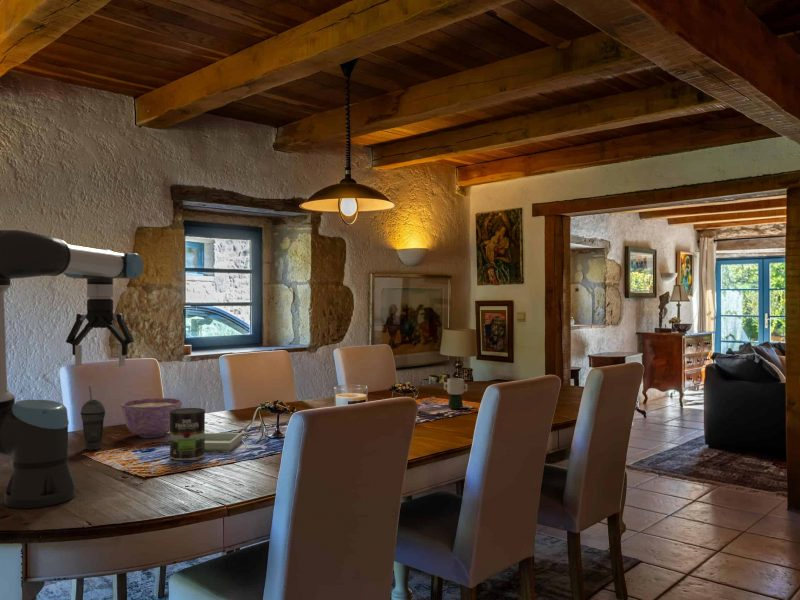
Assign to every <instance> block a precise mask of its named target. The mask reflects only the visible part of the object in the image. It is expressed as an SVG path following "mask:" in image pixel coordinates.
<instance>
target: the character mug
mask: <svg viewBox="0 0 800 600" xmlns="http://www.w3.org/2000/svg"><path fill="white" fill-rule="evenodd" d="M443 390H444V391H447V394H449V397H448V409H453V410H454V409H455V410H456V409H457V410H460V409H462V408H464V406H463V405H464V404H463V397H462V394H464V392H468V384H467V383H465V380H464V378H459V377H450V378H447V381H445V382H443Z"/></svg>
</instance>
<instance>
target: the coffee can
mask: <svg viewBox="0 0 800 600" xmlns="http://www.w3.org/2000/svg"><path fill="white" fill-rule="evenodd" d="M205 413H206V409H204V408H201V407H182V408H180V409H175V410H171V411H170V431H169V435H170V436H169V459H170V458H171V459H170V460H172V459H174V460H173V461H177V460H188V461H194V460H195V459H196V460H199V458H200V459H201V458H202V457H203V458H204V457H205V456H206V455H205V454H206V452H205V433H206V432H205V431H206V430H205V426H206V425H205V424H206V423H205V422H206V418H205V417H206V415H205Z"/></svg>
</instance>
